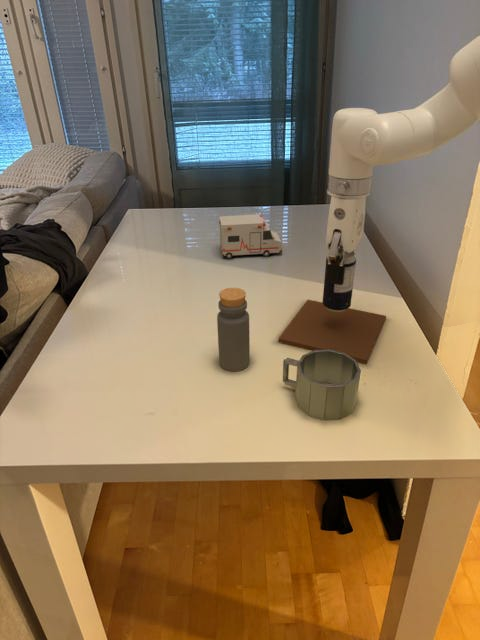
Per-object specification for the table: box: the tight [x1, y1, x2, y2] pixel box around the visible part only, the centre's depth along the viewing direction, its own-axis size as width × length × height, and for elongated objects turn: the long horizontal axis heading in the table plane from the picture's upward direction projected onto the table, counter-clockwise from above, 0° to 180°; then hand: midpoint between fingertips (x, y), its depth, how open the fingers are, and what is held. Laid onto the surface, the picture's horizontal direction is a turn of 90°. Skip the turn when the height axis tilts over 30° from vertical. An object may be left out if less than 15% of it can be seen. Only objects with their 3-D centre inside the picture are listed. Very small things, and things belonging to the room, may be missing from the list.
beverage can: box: [322, 247, 357, 312], centre depth 93 cm, size 6×6×12 cm
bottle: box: [216, 287, 251, 372], centre depth 86 cm, size 6×6×15 cm
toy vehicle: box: [218, 213, 283, 260], centre depth 133 cm, size 10×17×10 cm, turn 97°
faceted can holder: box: [282, 349, 362, 421], centre depth 79 cm, size 13×10×7 cm
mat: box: [278, 299, 387, 365], centre depth 98 cm, size 18×18×1 cm
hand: (339, 275), depth 92 cm, fingers closed on beverage can, 5 cm apart
